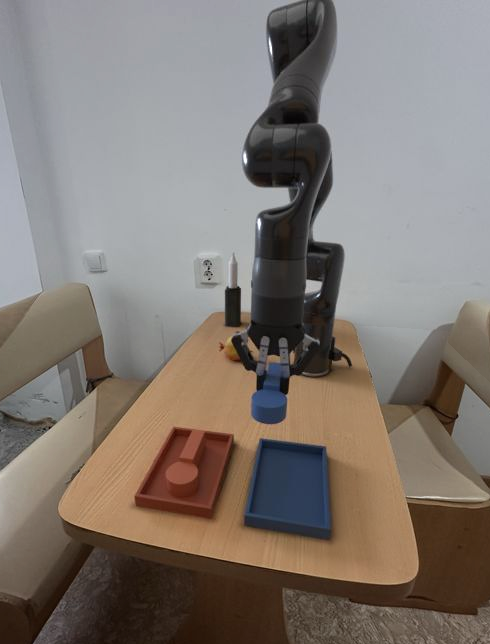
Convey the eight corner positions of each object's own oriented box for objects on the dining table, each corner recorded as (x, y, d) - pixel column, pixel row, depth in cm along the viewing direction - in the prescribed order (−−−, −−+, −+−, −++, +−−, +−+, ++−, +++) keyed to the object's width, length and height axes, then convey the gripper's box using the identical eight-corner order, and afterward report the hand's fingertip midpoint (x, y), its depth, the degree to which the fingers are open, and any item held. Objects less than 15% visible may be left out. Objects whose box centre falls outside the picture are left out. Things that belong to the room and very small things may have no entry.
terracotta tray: (173, 435, 74) (173, 426, 74) (233, 442, 72) (233, 434, 71) (135, 506, 58) (134, 495, 57) (211, 519, 56) (211, 508, 55)
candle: (238, 327, 129) (239, 254, 119) (224, 326, 130) (224, 253, 120) (241, 322, 134) (242, 251, 123) (227, 321, 135) (227, 250, 124)
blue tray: (259, 446, 71) (259, 437, 70) (325, 455, 69) (326, 446, 68) (244, 525, 55) (244, 515, 54) (329, 540, 53) (331, 529, 52)
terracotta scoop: (186, 443, 71) (185, 428, 70) (213, 447, 70) (212, 431, 69) (162, 494, 60) (160, 477, 58) (193, 499, 59) (192, 482, 57)
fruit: (256, 336, 106) (222, 332, 109) (251, 339, 100) (215, 335, 102) (253, 359, 108) (220, 355, 110) (248, 364, 101) (213, 359, 104)
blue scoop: (260, 379, 65) (261, 360, 64) (290, 382, 64) (291, 363, 63) (248, 421, 53) (248, 400, 52) (284, 426, 52) (286, 404, 51)
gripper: (328, 284, 54) (316, 387, 61) (235, 279, 57) (234, 378, 64) (330, 298, 48) (316, 412, 55) (224, 292, 50) (224, 401, 57)
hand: (272, 393), depth 59 cm, fingers closed on blue scoop, 2 cm apart
